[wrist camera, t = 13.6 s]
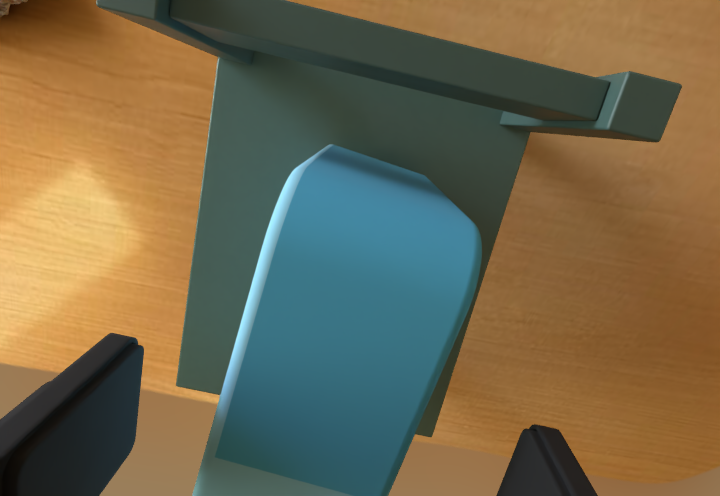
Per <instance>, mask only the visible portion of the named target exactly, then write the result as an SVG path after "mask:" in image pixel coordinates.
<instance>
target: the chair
mask: <svg viewBox="0 0 720 496" xmlns="http://www.w3.org/2000/svg"><path fill="white" fill-rule="evenodd" d="M96 5H97V6H98V7H99V8H102V9H104V10H107V11H109V12H111V13H114V14H116V15H119V16H121V17H123V18H126V19H128V20H131V21H133V22H135V23H138V24H140V25H143V26H145V27H147V28H150V29H152V30H155V31H157V32H159V33H162V34H164V35H167V36H169V37H171V38H174V39H176V40H179V41H181V42H183V43H186V44H188V45H191V46H193V47H195V48H198V49H200V50H203V51H205V52H207V53H210V54H212V55H215V56H217V57H218V62H217V70H216V78H215V86H214V93H213V101H212V109H211V117H210V125H209V132H208V140H207V148H206V156H205V164H204V171H203V179H202V187H201V195H200V202H199V210H198V218H197V226H196V234H195V241H194V249H193V257H192V265H191V273H190V280H189V288H188V296H187V304H186V312H185V319H184V327H183V335H182V343H181V351H180V358H179V366H178V374H177V382H176V386H178V387H183V388H188V389H193V390H198V391H203V392H208V393H213V394H218V395H221V392H222V388H223V384H224V381H225V377H226V374H227V370H228V367H229V363H230V360H231V356H232V352H233V349H234V345H235V342H236V338H237V335H238V331H239V327H240V324H241V320H242V317H243V313H244V310H245V306H246V303H247V299H248V295H249V292H250V288H251V285H252V281H253V278H254V274H255V271H256V267H257V263H258V260H259V256H260V253H261V249H262V246H263V242H264V239H265V236H266V232H267V229H268V226H269V223H270V220H271V217H272V215H273V212H274V209H275V206H276V204H277V201H278V199H279V196H280V194H281V192H282V189H283V187H284V185H285V183H286V181H287V179H288V177H289V176H290V174H291V173H292V171H293V170H294V169H295V168H296V167H298V166H299V165H301V164H302V163H304V162H305V161H306V160H308V159H309V158H311V157H312V156H313V155H315V154H316V153H318V152H319V151H320V150H322V149H323V148H325V147H326V146H328V145H330V144H333V145H336V146H339V147H342V148H345V149H348V150H351V151H354V152H357V153H360V154H363V155H366V156H369V157H372V158H375V159H378V160H381V161H384V162H387V163H389V164H392V165H395V166H398V167H401V168H404V169H407V170H410V171H413V172H416V173H419V174H422V175H425V176H426V177H427V178H428V179H429V180H430V181H431V182H432V183H433V184H434V185H435V186H436V187H437V188H438V189H439V190H440V191H442V192H443V193H444V194H445V195H446V196H447V197H448V198H449V199H450V200H451V201H452V202H453V203H454V204H455V205H456V206H457V207H458V208H459V209H460V210H461V211H462V212H463V213H464V214H465V215H466V216H467V217H468V218H470V219H471V220H472V221H473V222H474V223H475V225H476V226H477V228H478V230H479V232H480V236H481V242H482V258H481V266H480V272H479V277H478V282H477V286H476V289H475V293H474V296H473V299H472V302H471V305H470V307H469V310H468V312H467V315H466V317H465V319H464V322H463V324H462V326H461V329H460V331H459V333H458V336H457V338H456V340H455V342H454V345H453V347H452V349H451V352H450V354H449V356H448V359H447V361H446V363H445V366H444V368H443V370H442V372H441V375H440V377H439V379H438V382H437V384H436V386H435V389H434V391H433V393H432V395H431V398H430V400H429V402H428V405H427V407H426V409H425V412H424V414H423V416H422V419H421V421H420V423H419V425H418V428H417V430H416V432H415V434H417V435H422V436H427V437H432V435H433V432H434V429H435V426H436V423H437V420H438V416H439V413H440V410H441V407H442V404H443V401H444V398H445V395H446V392H447V389H448V386H449V382H450V379H451V376H452V373H453V370H454V367H455V364H456V361H457V358H458V355H459V352H460V348H461V345H462V342H463V339H464V336H465V333H466V330H467V327H468V324H469V321H470V318H471V314H472V311H473V308H474V305H475V302H476V299H477V296H478V293H479V290H480V287H481V284H482V281H483V277H484V274H485V271H486V268H487V265H488V262H489V259H490V256H491V253H492V250H493V247H494V243H495V240H496V237H497V234H498V231H499V228H500V225H501V222H502V219H503V216H504V213H505V209H506V206H507V203H508V200H509V197H510V194H511V191H512V188H513V185H514V182H515V179H516V175H517V172H518V169H519V166H520V163H521V160H522V157H523V154H524V151H525V148H526V145H527V141H528V138H529V135H530V132H538V133H550V134H562V135H574V136H586V137H598V138H610V139H622V140H634V141H646V142H659V141H660V140H661V137H662V135H663V132H664V130H665V127H666V125H667V122H668V120H669V117H670V115H671V113H672V110H673V108H674V105H675V103H676V100H677V98H678V95H679V93H680V90H681V88H682V85H681V84H679V83H675V82H671V81H667V80H663V79H659V78H655V77H651V76H647V75H643V74H639V73H635V72H631V71H629V72H623V73H617V74H612V75H606V76H601V77H592V76H588V75H584V74H580V73H575V72H571V71H567V70H563V69H559V68H555V67H551V66H547V65H543V64H539V63H535V62H531V61H527V60H523V59H519V58H515V57H511V56H507V55H503V54H499V53H495V52H491V51H487V50H483V49H479V48H475V47H471V46H467V45H463V44H459V43H455V42H451V41H447V40H443V39H439V38H435V37H431V36H427V35H423V34H418V33H414V32H410V31H406V30H402V29H398V28H394V27H390V26H386V25H382V24H378V23H374V22H370V21H366V20H362V19H358V18H354V17H350V16H346V15H342V14H338V13H334V12H330V11H326V10H322V9H318V8H314V7H310V6H306V5H302V4H298V3H294V2H290V1H286V0H96Z"/></svg>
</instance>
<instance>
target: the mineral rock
mask: <svg viewBox="0 0 720 496" xmlns="http://www.w3.org/2000/svg"><path fill="white" fill-rule="evenodd" d="M21 2H27V0H0V18H1V17H2V16H3V15H8V13H9V7H10V4H20V3H21Z"/></svg>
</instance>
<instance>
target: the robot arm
mask: <svg viewBox="0 0 720 496" xmlns="http://www.w3.org/2000/svg"><path fill="white" fill-rule="evenodd" d="M143 355H144V348H143V346H141V345H138V341H137V339H136V338H133V337H129V336H124V335H120V334H115V333H110V334H108V335H107V336H106V337H104V338H103V339H102V340H101V341H99V342H98V343H97V344H96V345H95V346H93V347H92V348H91V349H90V350H88V351H87V352H86V353H85V354H84V355H82V356H81V357H80V358H79V359H78V360H76V361H75V362H74V363H73V364H71V365H70V366H69V367H68V368H67V369H65V370H64V371H63V372H62V373H60V374H59V375H58V376H57V377H56V378H54V379H53V380H52V381H50V382H47V383H46V384H44V385H42V386H41V387H40V388H39V389H38V390H36V391H35V392H34V393H33V394H31V395H30V396H29V397H27V398H26V399H25V400H24V401H23V402H21V403H20V404H19V405H18V406H16V407H15V408H14V409H13V410H12V411H10V412H9V413H8V414H7V415H6V416H4V417H3V418H2V419H0V496H99V495H100V494H101V492H102V491H103V490H104V488H105V487H106V485H107V484H108V483H109V481H110V480H111V479H112V477H113V476H114V474H115V473H116V472H117V470H118V469H119V467H120V466H121V464H122V463H123V462H124V460H125V459H126V458H127V456H128V455H129V453H130V451H131V450H132V447H133V445H134V442H135V436H136V426H137V416H138V406H139V395H140V386H141V375H142V365H143ZM497 496H598V495H597V494H596V492H595V490H594V489H593V487H592V485H591V483H590V482H589V480H588V478H587V477H586V475H585V473H584V471H583V470H582V468H581V466H580V465H579V463H578V461H577V460H576V458H575V456H574V454H573V453H572V451H571V449H570V448H569V446H568V444H567V442H566V441H565V439H564V437H563V436H562V434H561V432H560V431H559V430H557V429H554V428H550V427H545V426H540V425H536V424H534V425H532V426H531V427H530V428H529V429H524V430H523V431H522V433H521V435H520V438H519V440H518V443H517V445H516V448H515V450H514V453H513V456H512V458H511V461H510V463H509V466H508V468H507V471H506V473H505V476H504V478H503V481H502V483H501V486H500V488H499V491H498V493H497Z"/></svg>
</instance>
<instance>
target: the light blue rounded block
mask: <svg viewBox="0 0 720 496" xmlns="http://www.w3.org/2000/svg"><path fill="white" fill-rule="evenodd" d="M481 258H482V242H481V236H480V232H479V230H478V228H477V226H476V225H475V223H474V222H473V221H472V220H471V219H470V218H468V217H467V216H466V215H465V214H464V213H463V212H462V211H461V210H460V209H459V208H458V207H457V206H456V205H455V204H454V203H453V202H452V201H451V200H450V199H449V198H448V197H447V196H446V195H445V194H444V193H443V192H442V191H440V190H439V189H438V188H437V187H436V186H435V185H434V184H433V183H432V182H431V181H430V180H429V179H428V178H427V177H426V176H425V175H422V174H419V173H416V172H413V171H410V170H407V169H404V168H401V167H398V166H395V165H392V164H389V163H387V162H384V161H381V160H378V159H375V158H372V157H369V156H366V155H363V154H360V153H357V152H354V151H351V150H348V149H345V148H342V147H339V146H336V145H333V144H330V145H328V146H326V147H325V148H323V149H322V150H320V151H319V152H318V153H316V154H315V155H313V156H312V157H311V158H309V159H308V160H306V161H305V162H304V163H302V164H301V165H299V166H298V167H296V168H295V169H294V170H293V171H292V173H291V174H290V176H289V177H288V179H287V181H286V183H285V185H284V187H283V189H282V192H281V194H280V196H279V199H278V201H277V204H276V206H275V209H274V212H273V215H272V217H271V220H270V223H269V226H268V229H267V232H266V236H265V239H264V242H263V246H262V249H261V253H260V256H259V260H258V263H257V267H256V271H255V274H254V278H253V281H252V285H251V288H250V292H249V295H248V299H247V303H246V306H245V310H244V313H243V317H242V320H241V324H240V327H239V331H238V335H237V338H236V342H235V345H234V349H233V352H232V356H231V360H230V363H229V367H228V370H227V374H226V377H225V381H224V384H223V388H222V392H221V395H220V399H219V402H218V406H217V410H216V413H215V417H214V420H213V424H212V427H211V431H210V434H209V438H208V441H207V445H206V449H205V452H204V456H203V459H202V463H201V466H200V470H199V473H198V477H197V481H196V484H195V488H194V491H193V495H192V496H388V495H389V492H390V490H391V488H392V485H393V483H394V481H395V478H396V476H397V474H398V471H399V469H400V467H401V465H402V462H403V460H404V458H405V455H406V453H407V451H408V448H409V446H410V444H411V442H412V439H413V437H414V435H415V432H416V430H417V428H418V425H419V423H420V421H421V419H422V416H423V414H424V412H425V409H426V407H427V405H428V402H429V400H430V398H431V395H432V393H433V391H434V389H435V386H436V384H437V382H438V379H439V377H440V375H441V372H442V370H443V368H444V366H445V363H446V361H447V359H448V356H449V354H450V352H451V349H452V347H453V345H454V342H455V340H456V338H457V336H458V333H459V331H460V329H461V326H462V324H463V322H464V319H465V317H466V315H467V312H468V310H469V307H470V305H471V302H472V299H473V296H474V293H475V289H476V286H477V282H478V277H479V272H480V266H481Z"/></svg>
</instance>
